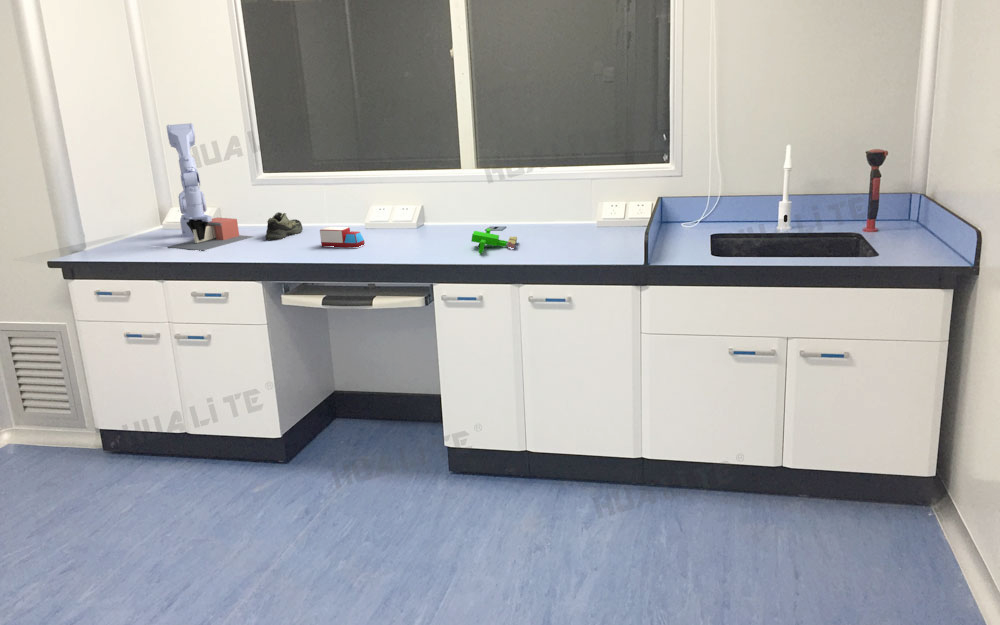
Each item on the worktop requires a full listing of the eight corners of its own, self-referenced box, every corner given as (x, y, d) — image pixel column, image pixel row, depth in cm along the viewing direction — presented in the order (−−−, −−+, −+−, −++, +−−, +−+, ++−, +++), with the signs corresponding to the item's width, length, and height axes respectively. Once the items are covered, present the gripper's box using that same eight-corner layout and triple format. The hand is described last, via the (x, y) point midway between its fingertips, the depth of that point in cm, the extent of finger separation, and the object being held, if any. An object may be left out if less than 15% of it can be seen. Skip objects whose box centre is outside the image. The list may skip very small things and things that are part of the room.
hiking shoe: (308, 230, 331) (305, 207, 328) (282, 241, 311) (279, 217, 308) (289, 230, 333) (286, 207, 330) (262, 241, 313) (259, 217, 311)
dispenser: (202, 238, 321) (199, 221, 319) (219, 234, 328) (217, 217, 326) (222, 240, 315) (219, 223, 313) (239, 235, 323) (237, 218, 321)
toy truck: (357, 249, 291) (355, 230, 289) (321, 247, 297) (319, 229, 295) (365, 245, 296) (363, 227, 294) (329, 244, 302) (327, 226, 300)
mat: (167, 247, 309) (167, 246, 309) (219, 234, 330) (219, 233, 330) (203, 251, 299) (203, 250, 299) (254, 237, 320) (254, 236, 320)
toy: (515, 247, 293) (474, 239, 293) (518, 234, 291) (477, 226, 292) (511, 262, 272) (466, 254, 272) (513, 248, 270) (469, 239, 271)
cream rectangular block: (194, 242, 312) (192, 229, 311) (217, 236, 321) (215, 224, 320) (197, 242, 311) (195, 229, 310) (220, 236, 320) (218, 224, 319)
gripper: (172, 205, 309) (178, 240, 313) (198, 206, 302) (204, 242, 306) (187, 201, 315) (193, 236, 319) (213, 203, 308) (219, 238, 312)
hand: (199, 239), depth 313 cm, fingers closed on cream rectangular block
